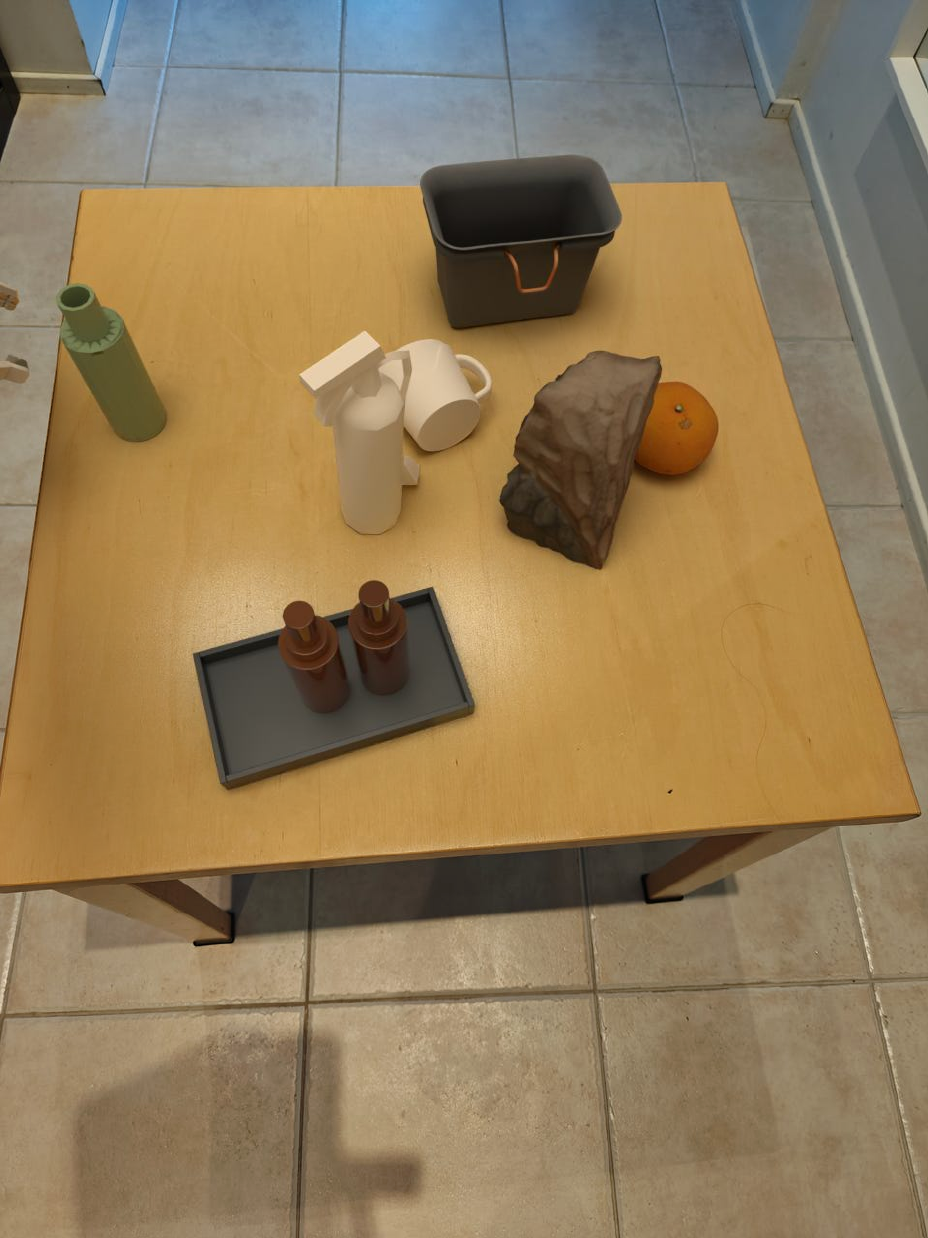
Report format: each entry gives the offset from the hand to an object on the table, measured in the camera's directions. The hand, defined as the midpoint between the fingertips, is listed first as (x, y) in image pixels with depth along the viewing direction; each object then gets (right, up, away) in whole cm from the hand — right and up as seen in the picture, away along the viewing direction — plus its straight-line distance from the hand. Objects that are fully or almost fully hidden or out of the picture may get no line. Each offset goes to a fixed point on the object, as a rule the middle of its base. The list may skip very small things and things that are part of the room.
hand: (21, 335), depth 75 cm
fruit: (+65, -7, +16) cm, 67 cm away
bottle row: (+32, -33, +2) cm, 46 cm away
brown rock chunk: (+54, -16, +12) cm, 57 cm away
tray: (+30, -34, +3) cm, 45 cm away
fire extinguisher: (+33, -15, +12) cm, 38 cm away
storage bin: (+48, +13, +25) cm, 56 cm away
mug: (+39, -3, +17) cm, 43 cm away
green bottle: (+5, -4, +15) cm, 16 cm away
